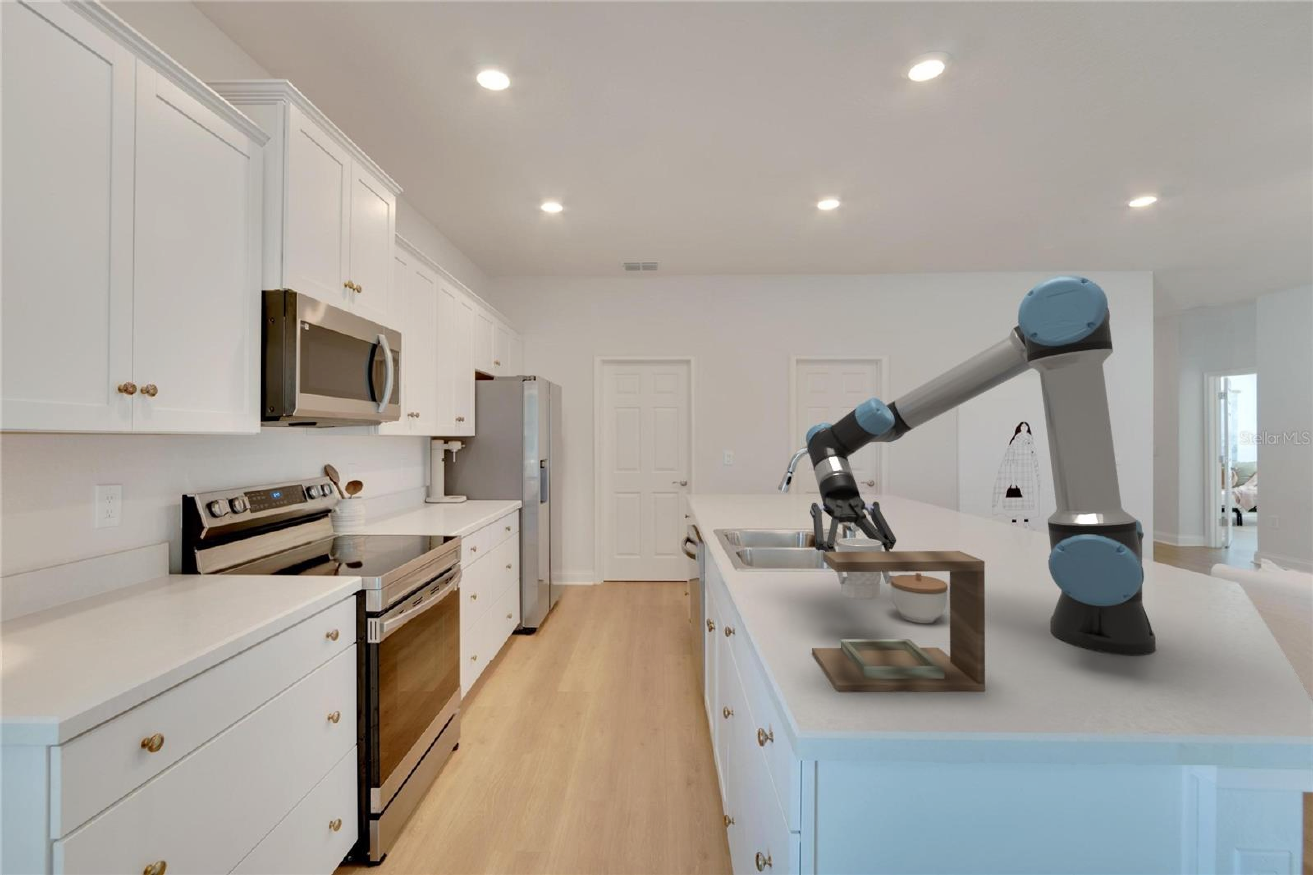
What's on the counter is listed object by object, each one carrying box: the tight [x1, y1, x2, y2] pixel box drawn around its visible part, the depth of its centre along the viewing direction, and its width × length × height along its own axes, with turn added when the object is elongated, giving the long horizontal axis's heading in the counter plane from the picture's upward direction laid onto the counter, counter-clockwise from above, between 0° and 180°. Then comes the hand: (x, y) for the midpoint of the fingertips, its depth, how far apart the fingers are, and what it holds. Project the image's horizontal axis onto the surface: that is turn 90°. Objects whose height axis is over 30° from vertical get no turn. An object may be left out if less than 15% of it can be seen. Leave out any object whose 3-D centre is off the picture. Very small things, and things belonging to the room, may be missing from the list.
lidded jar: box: [889, 572, 949, 624], centre depth 114 cm, size 11×11×9 cm
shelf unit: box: [811, 550, 986, 693], centre depth 89 cm, size 22×14×20 cm, turn 89°
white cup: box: [836, 537, 882, 600], centre depth 103 cm, size 8×8×10 cm
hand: (866, 580), depth 99 cm, fingers closed on white cup, 8 cm apart
